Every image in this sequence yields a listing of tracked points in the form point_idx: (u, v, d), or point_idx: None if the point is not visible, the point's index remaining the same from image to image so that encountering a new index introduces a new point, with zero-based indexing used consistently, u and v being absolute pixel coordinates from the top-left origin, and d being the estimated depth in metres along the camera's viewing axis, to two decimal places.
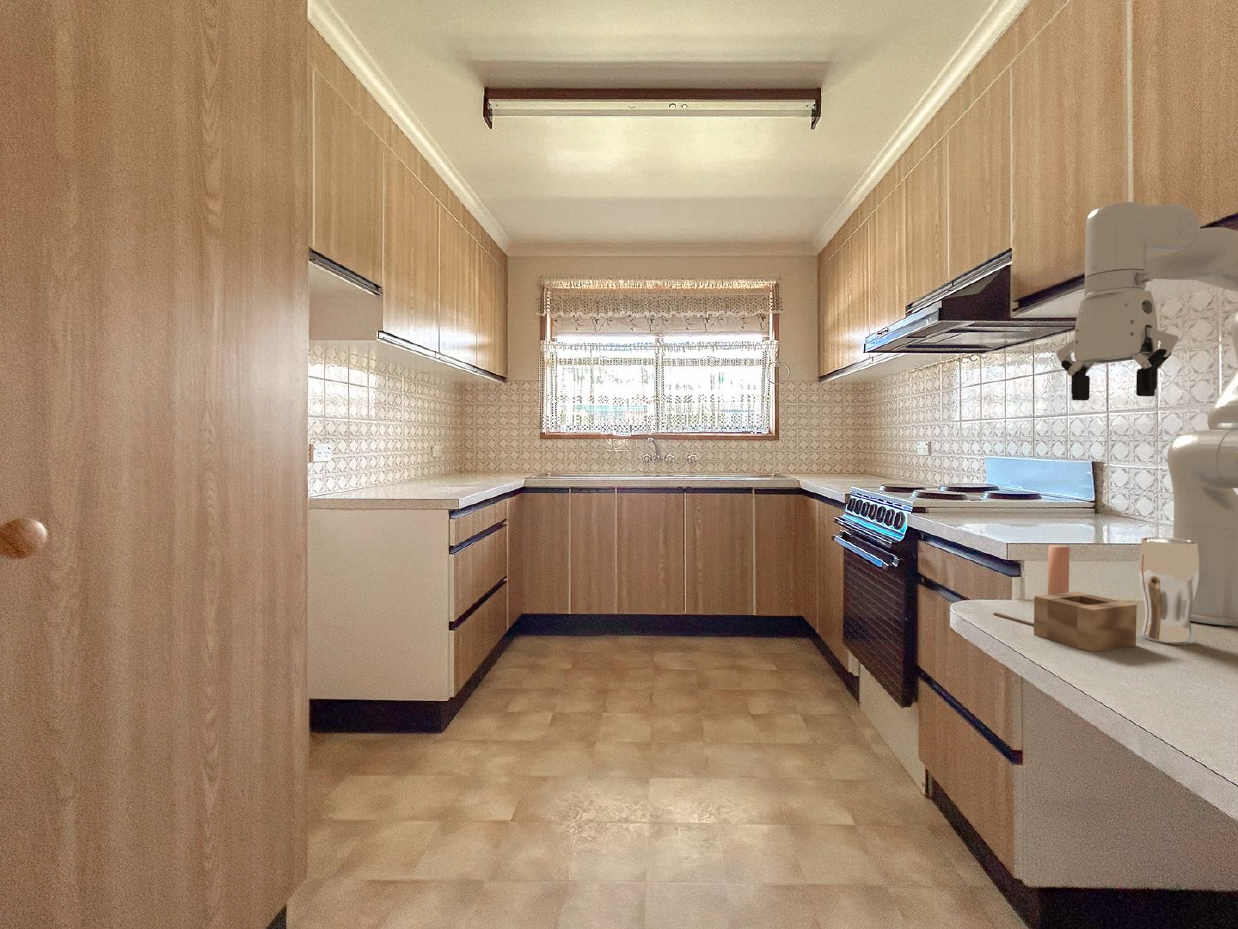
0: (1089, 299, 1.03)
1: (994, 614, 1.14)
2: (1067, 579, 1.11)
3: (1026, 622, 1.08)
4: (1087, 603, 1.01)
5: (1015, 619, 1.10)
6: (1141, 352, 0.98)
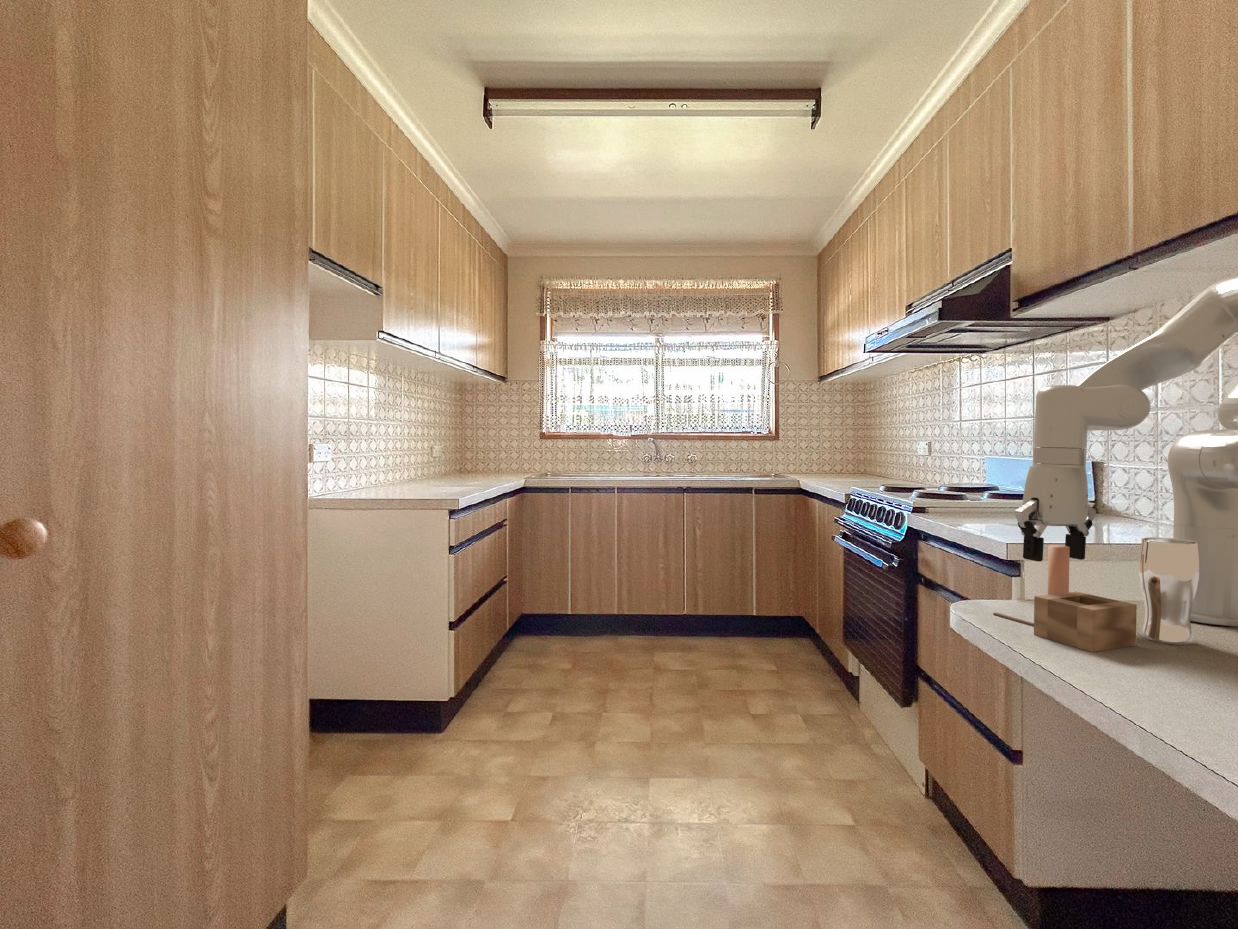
0: (1063, 468, 1.09)
1: (994, 614, 1.14)
2: (1067, 579, 1.11)
3: (1026, 622, 1.08)
4: (1087, 603, 1.01)
5: (1015, 619, 1.10)
6: None
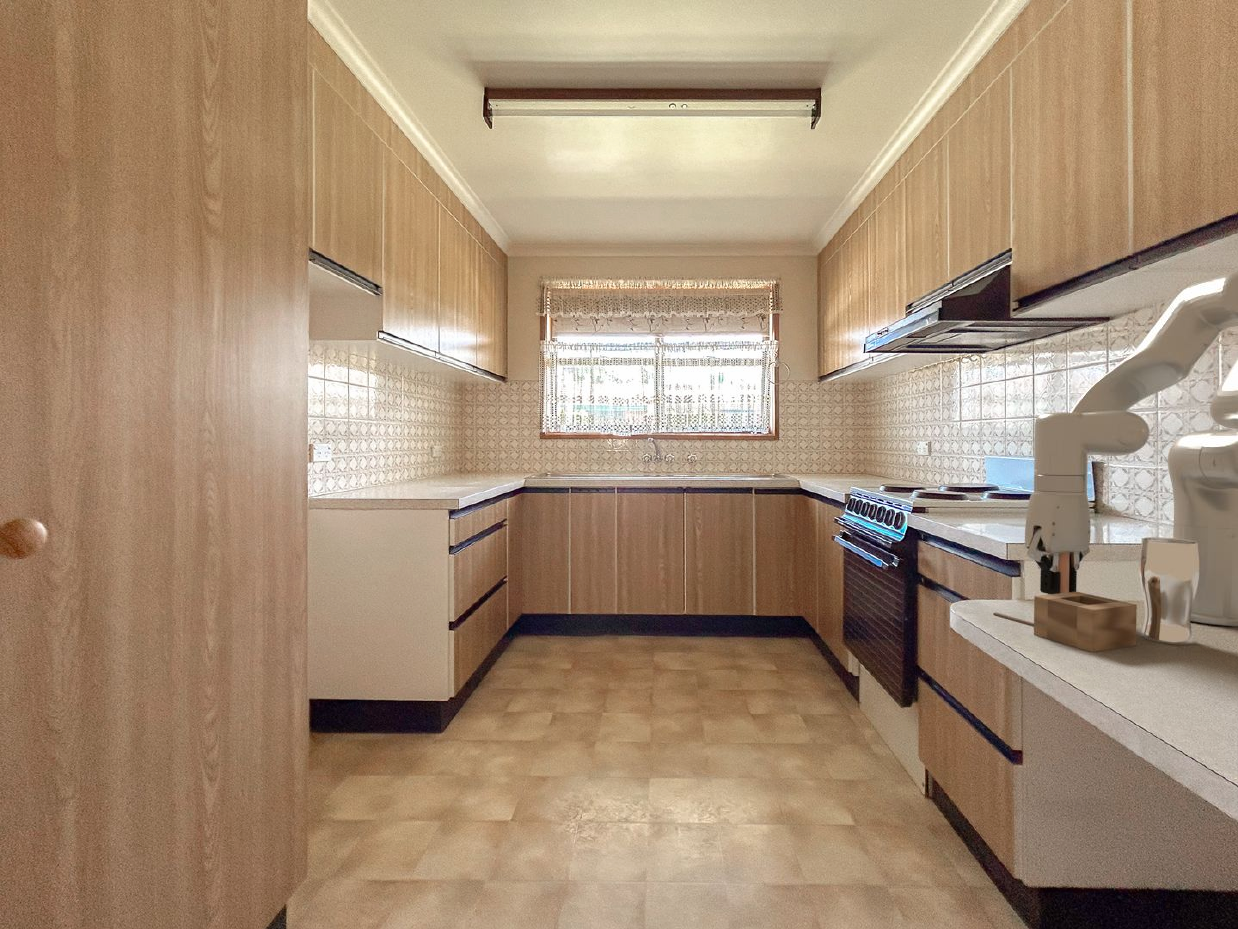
0: (1064, 496, 1.09)
1: (994, 614, 1.14)
2: (1067, 579, 1.11)
3: (1026, 622, 1.08)
4: (1087, 603, 1.01)
5: (1015, 619, 1.10)
6: None
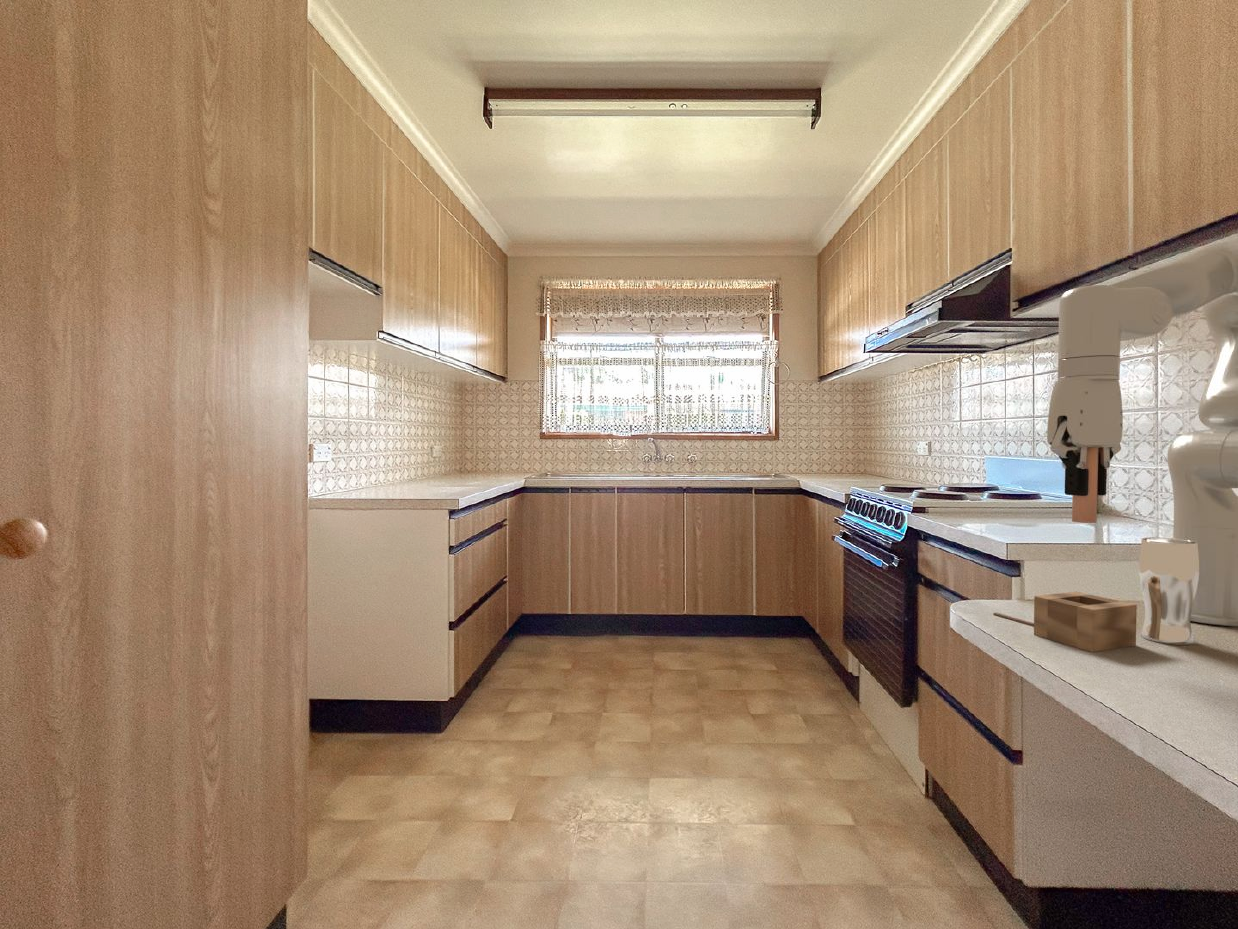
0: (1094, 380, 0.95)
1: (994, 614, 1.14)
2: (1095, 478, 0.97)
3: (1026, 622, 1.08)
4: (1087, 603, 1.01)
5: (1015, 619, 1.10)
6: None
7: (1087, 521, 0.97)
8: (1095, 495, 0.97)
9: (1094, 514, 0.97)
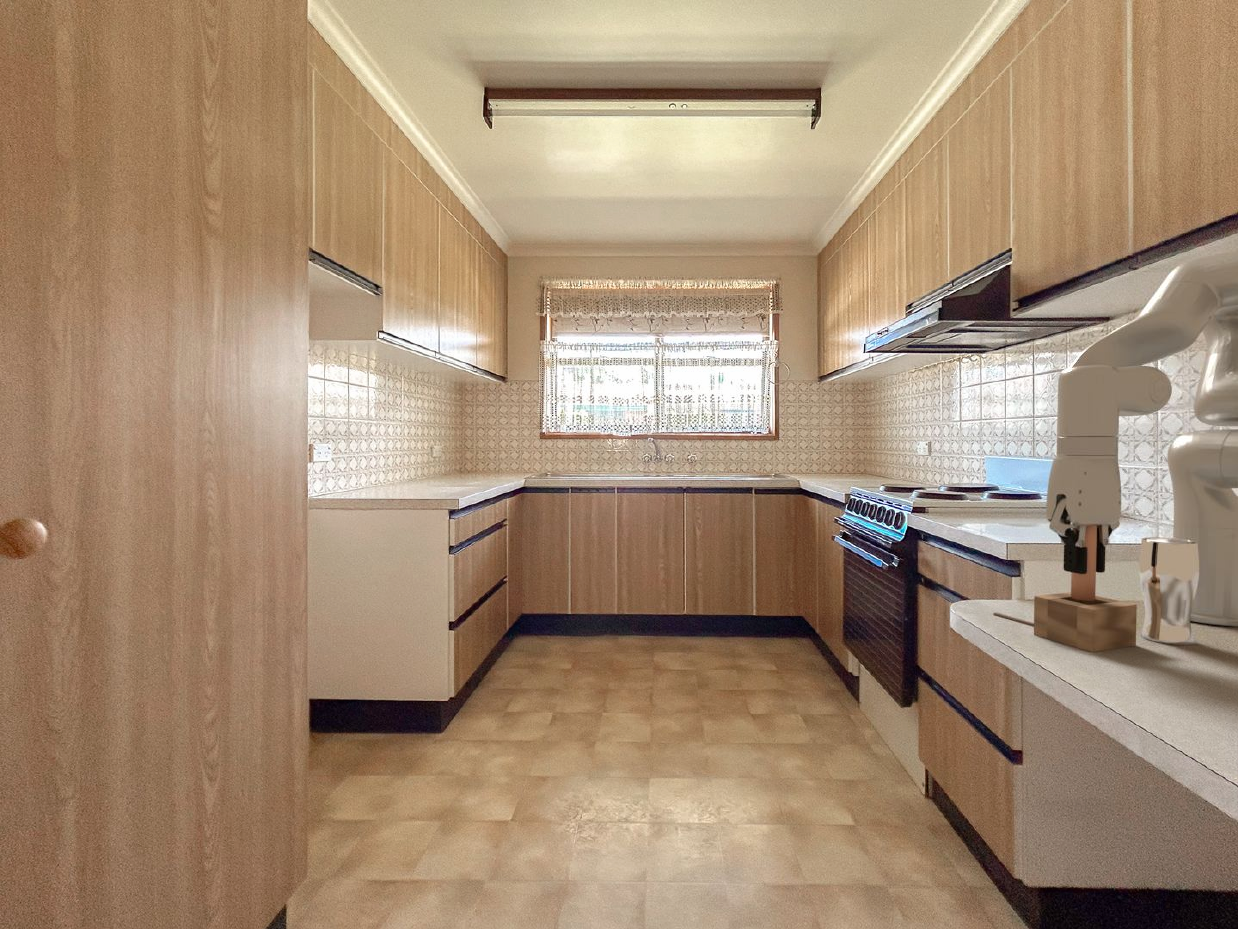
0: (1092, 460, 0.96)
1: (994, 614, 1.14)
2: (1094, 556, 0.98)
3: (1026, 622, 1.08)
4: (1087, 603, 1.01)
5: (1015, 619, 1.10)
6: None
7: (1086, 599, 0.98)
8: (1094, 573, 0.98)
9: (1093, 592, 0.98)
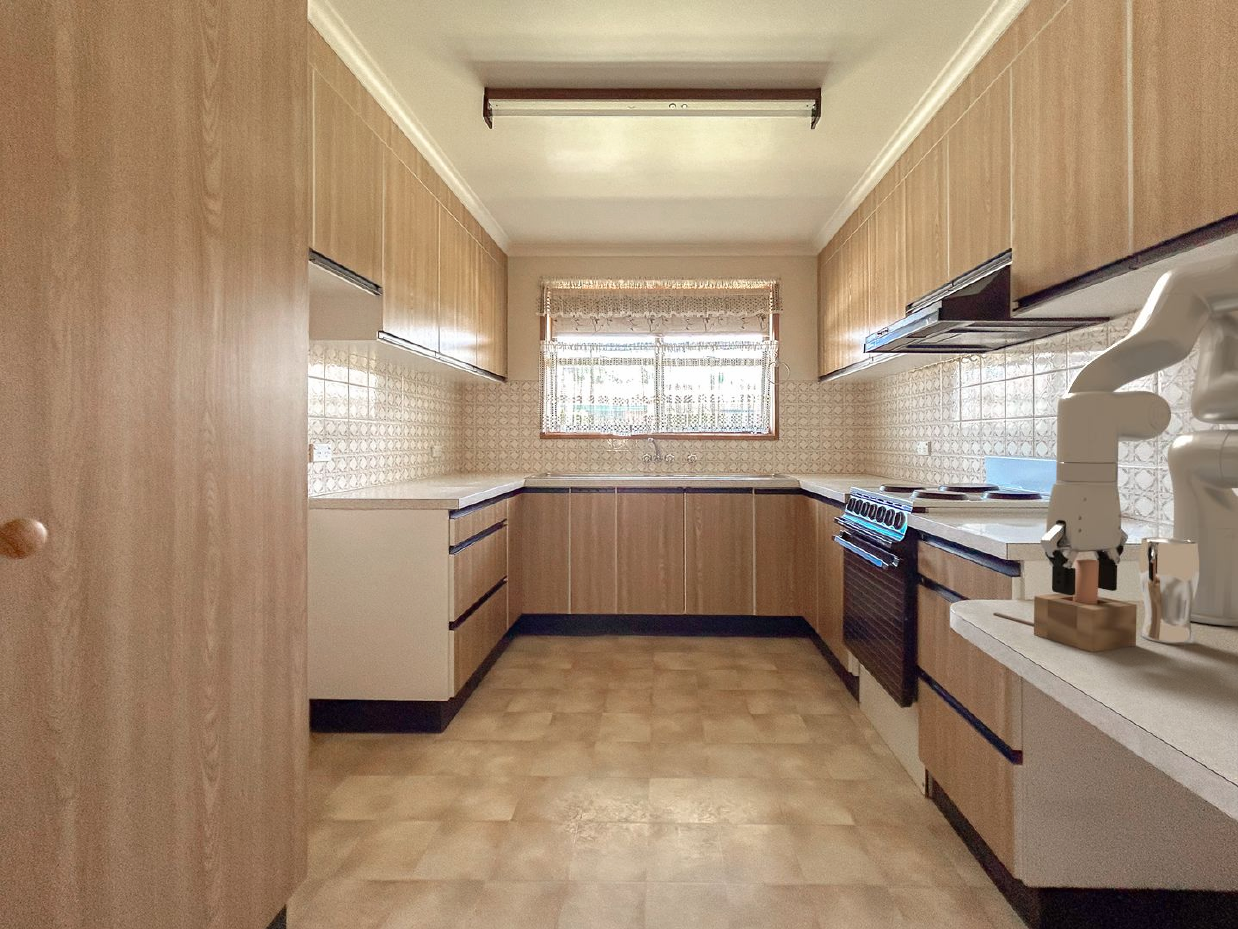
0: (1092, 486, 0.96)
1: (994, 614, 1.14)
2: (1095, 597, 0.98)
3: (1026, 622, 1.08)
4: None
5: (1015, 619, 1.10)
6: None
7: None
8: None
9: None
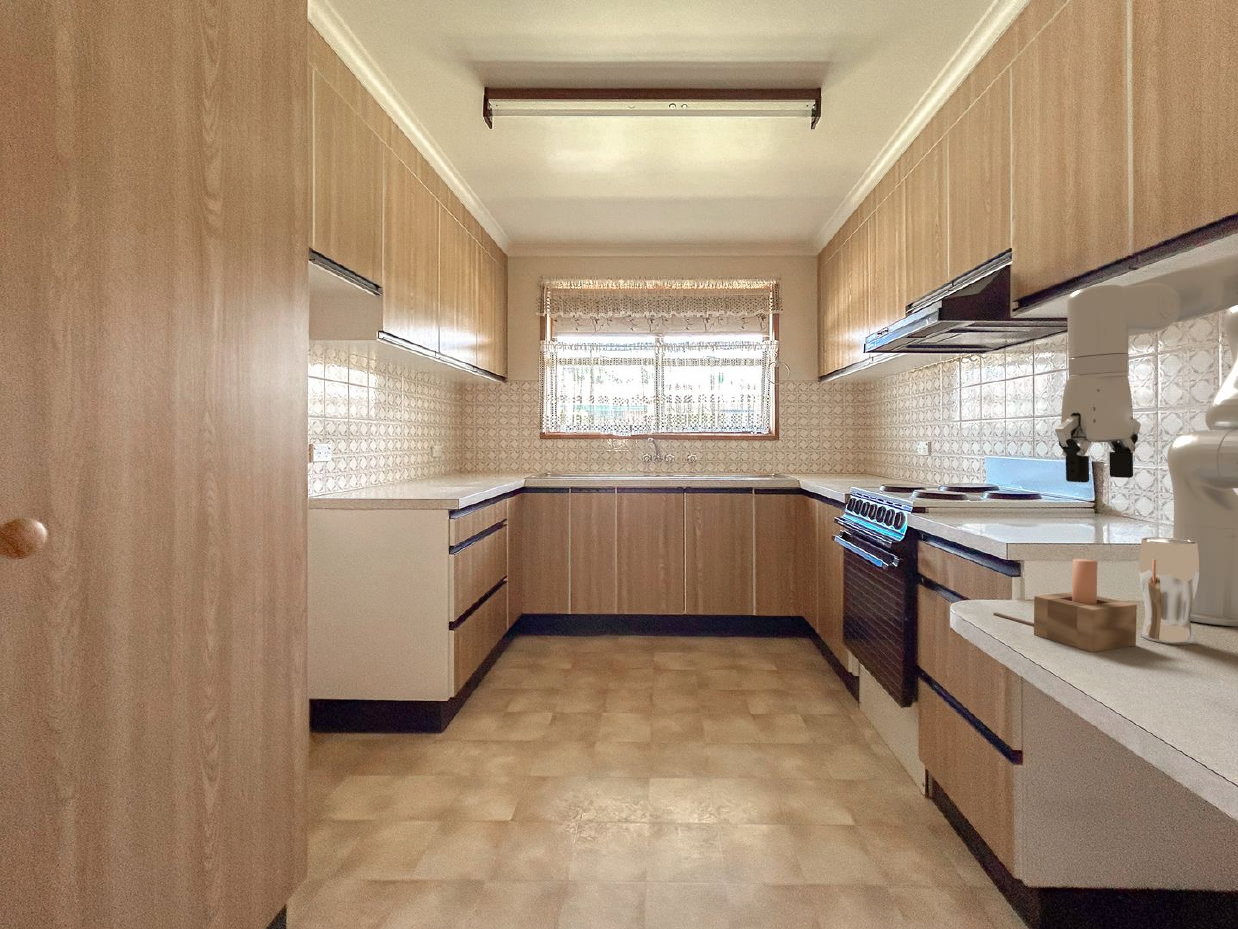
0: (1104, 377, 0.98)
1: (994, 614, 1.14)
2: (1095, 598, 0.98)
3: (1026, 622, 1.08)
4: None
5: (1015, 619, 1.10)
6: None
7: None
8: None
9: None
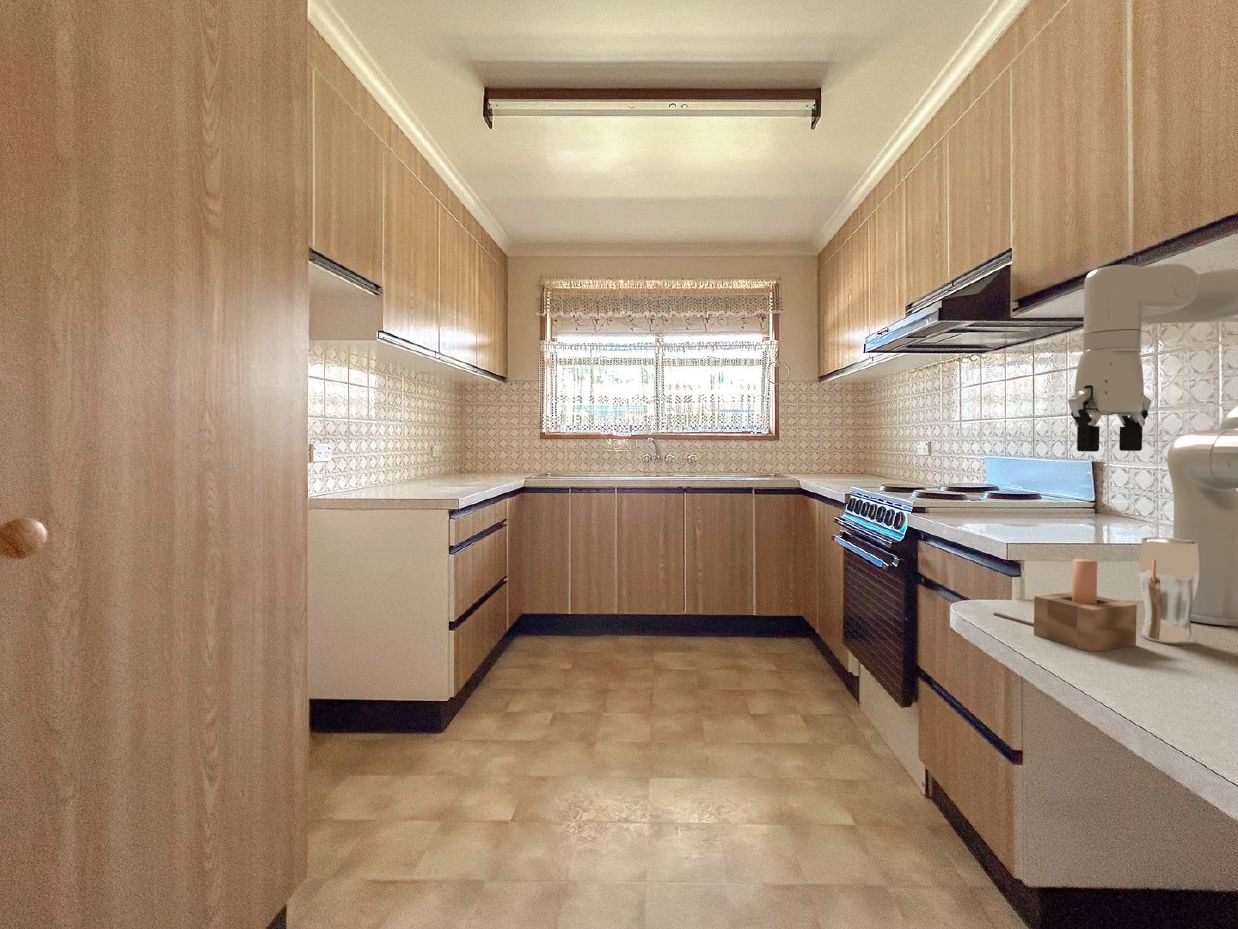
0: (1117, 352, 1.04)
1: (994, 614, 1.14)
2: (1094, 598, 0.98)
3: (1026, 622, 1.08)
4: None
5: (1015, 619, 1.10)
6: None
7: None
8: None
9: None
